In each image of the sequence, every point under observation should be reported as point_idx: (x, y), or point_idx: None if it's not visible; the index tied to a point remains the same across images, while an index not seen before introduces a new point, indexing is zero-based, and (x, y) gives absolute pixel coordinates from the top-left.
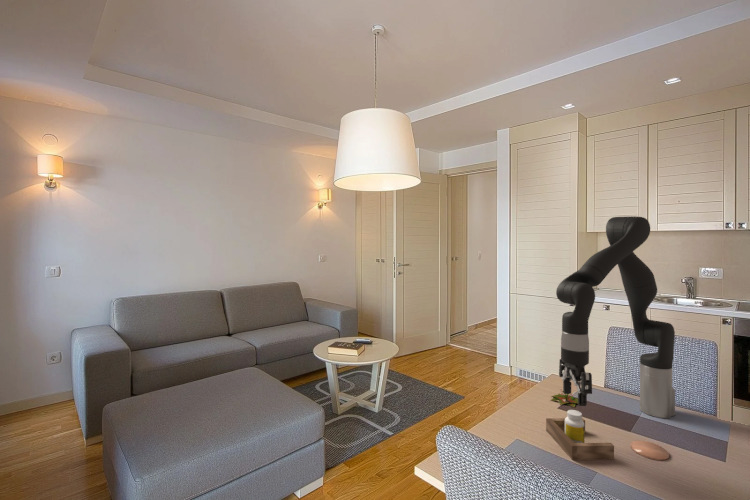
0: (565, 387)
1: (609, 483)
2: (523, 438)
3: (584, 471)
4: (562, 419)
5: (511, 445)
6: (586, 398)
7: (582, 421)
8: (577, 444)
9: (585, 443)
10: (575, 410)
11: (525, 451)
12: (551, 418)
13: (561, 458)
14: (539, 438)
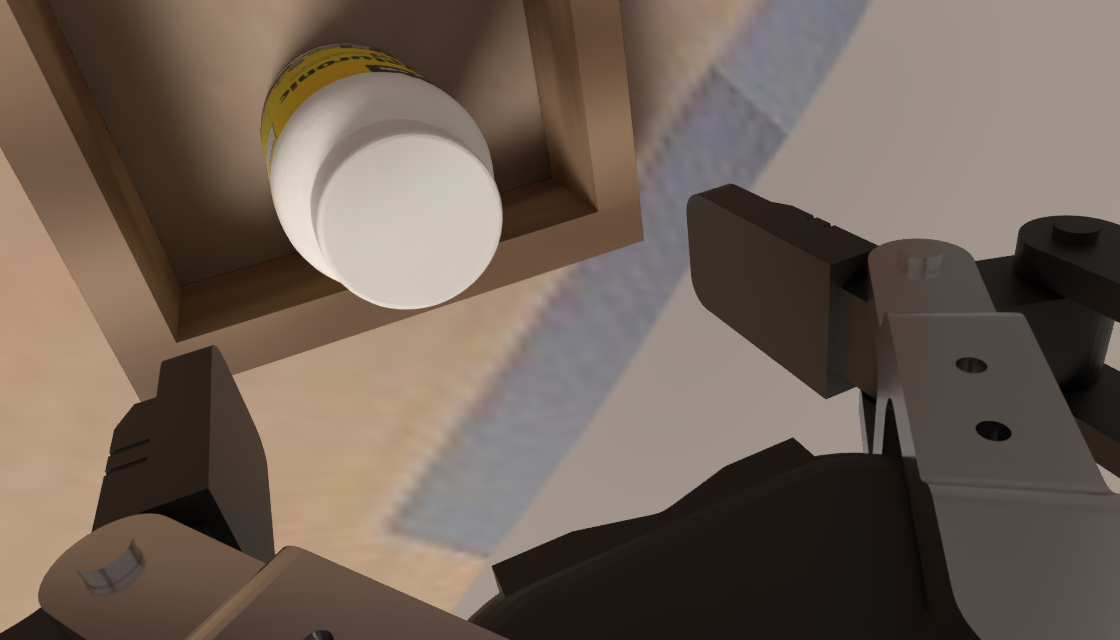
0: (265, 514)
1: (814, 29)
2: (373, 493)
3: (711, 153)
4: (90, 237)
5: (488, 545)
6: (849, 236)
7: (421, 108)
8: (617, 190)
9: (595, 116)
10: (333, 198)
11: (541, 470)
12: (116, 353)
13: (587, 270)
14: (337, 394)
